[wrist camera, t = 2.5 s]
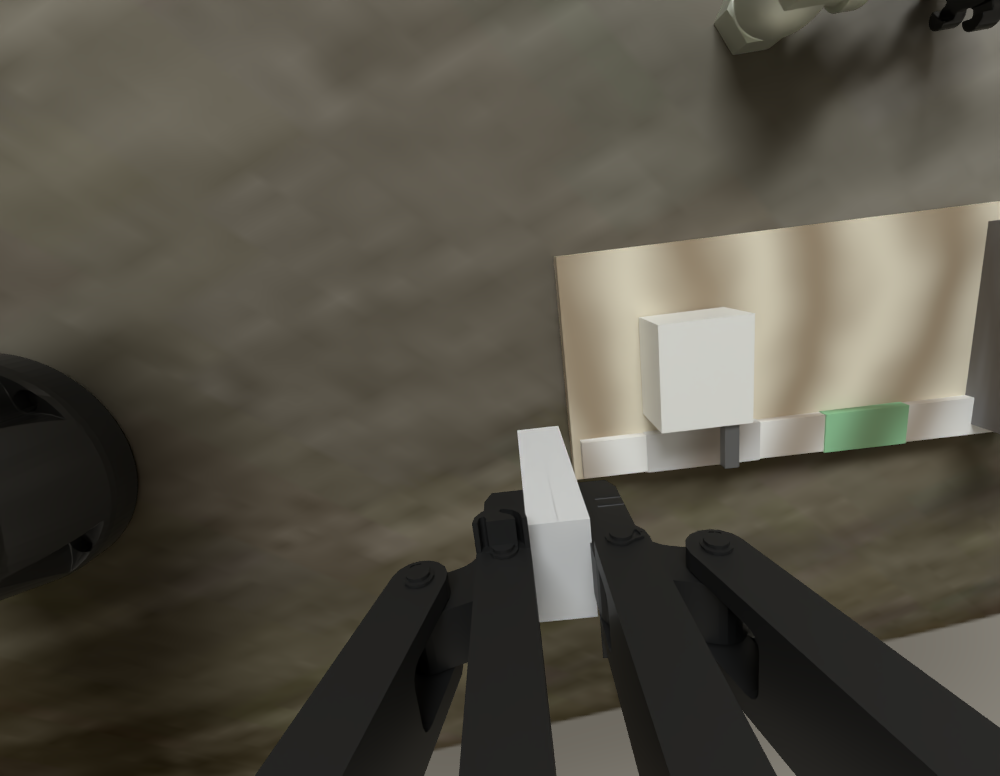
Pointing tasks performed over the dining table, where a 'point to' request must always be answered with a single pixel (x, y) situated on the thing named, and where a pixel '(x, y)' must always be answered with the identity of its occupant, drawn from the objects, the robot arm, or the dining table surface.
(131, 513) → the robot arm
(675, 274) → the board
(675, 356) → the white rectangular block
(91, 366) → the dining table surface
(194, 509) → the dining table surface
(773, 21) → the valve
